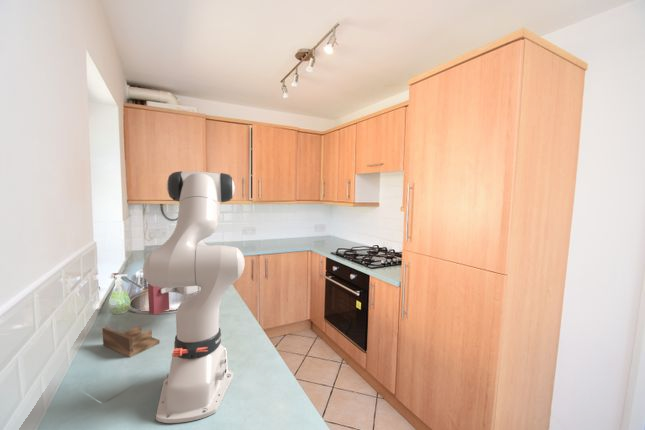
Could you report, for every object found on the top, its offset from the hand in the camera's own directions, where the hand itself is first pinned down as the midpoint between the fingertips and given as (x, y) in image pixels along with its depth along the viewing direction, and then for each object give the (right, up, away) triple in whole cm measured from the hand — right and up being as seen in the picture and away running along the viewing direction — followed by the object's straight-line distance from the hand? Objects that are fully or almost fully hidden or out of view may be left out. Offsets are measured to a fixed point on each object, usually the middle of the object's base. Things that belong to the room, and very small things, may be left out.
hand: (156, 290), depth 107 cm
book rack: (-4, -17, -7) cm, 19 cm away
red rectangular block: (0, -8, +1) cm, 9 cm away
